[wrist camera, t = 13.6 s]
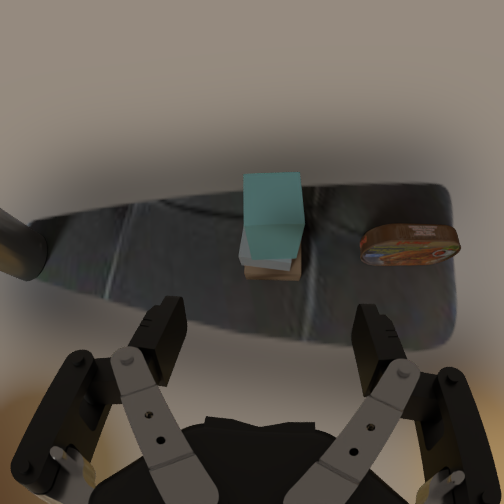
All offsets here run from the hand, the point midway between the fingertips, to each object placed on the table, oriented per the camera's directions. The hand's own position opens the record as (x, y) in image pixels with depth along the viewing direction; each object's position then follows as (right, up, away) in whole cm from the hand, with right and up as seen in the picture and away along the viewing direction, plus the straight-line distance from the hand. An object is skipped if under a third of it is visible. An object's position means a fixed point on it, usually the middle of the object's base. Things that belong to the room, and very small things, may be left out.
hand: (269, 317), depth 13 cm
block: (+2, +4, +22) cm, 22 cm away
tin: (+21, +2, +27) cm, 34 cm away
